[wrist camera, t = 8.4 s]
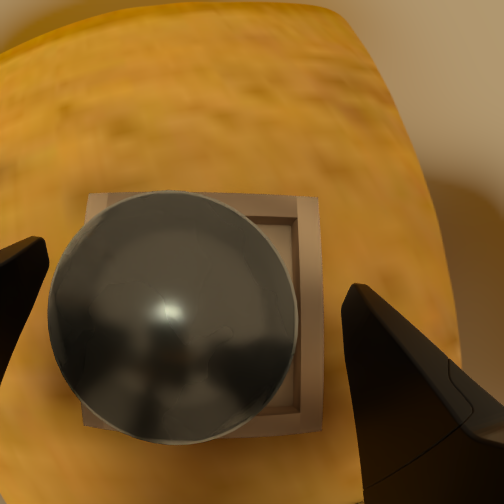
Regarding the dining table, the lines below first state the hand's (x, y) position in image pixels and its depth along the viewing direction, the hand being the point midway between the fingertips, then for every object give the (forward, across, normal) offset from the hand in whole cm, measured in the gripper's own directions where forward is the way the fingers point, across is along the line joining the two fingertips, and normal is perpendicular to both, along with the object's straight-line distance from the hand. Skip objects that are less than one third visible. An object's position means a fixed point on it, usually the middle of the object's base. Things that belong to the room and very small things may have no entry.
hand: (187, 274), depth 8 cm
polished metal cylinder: (+5, 0, +7) cm, 8 cm away
